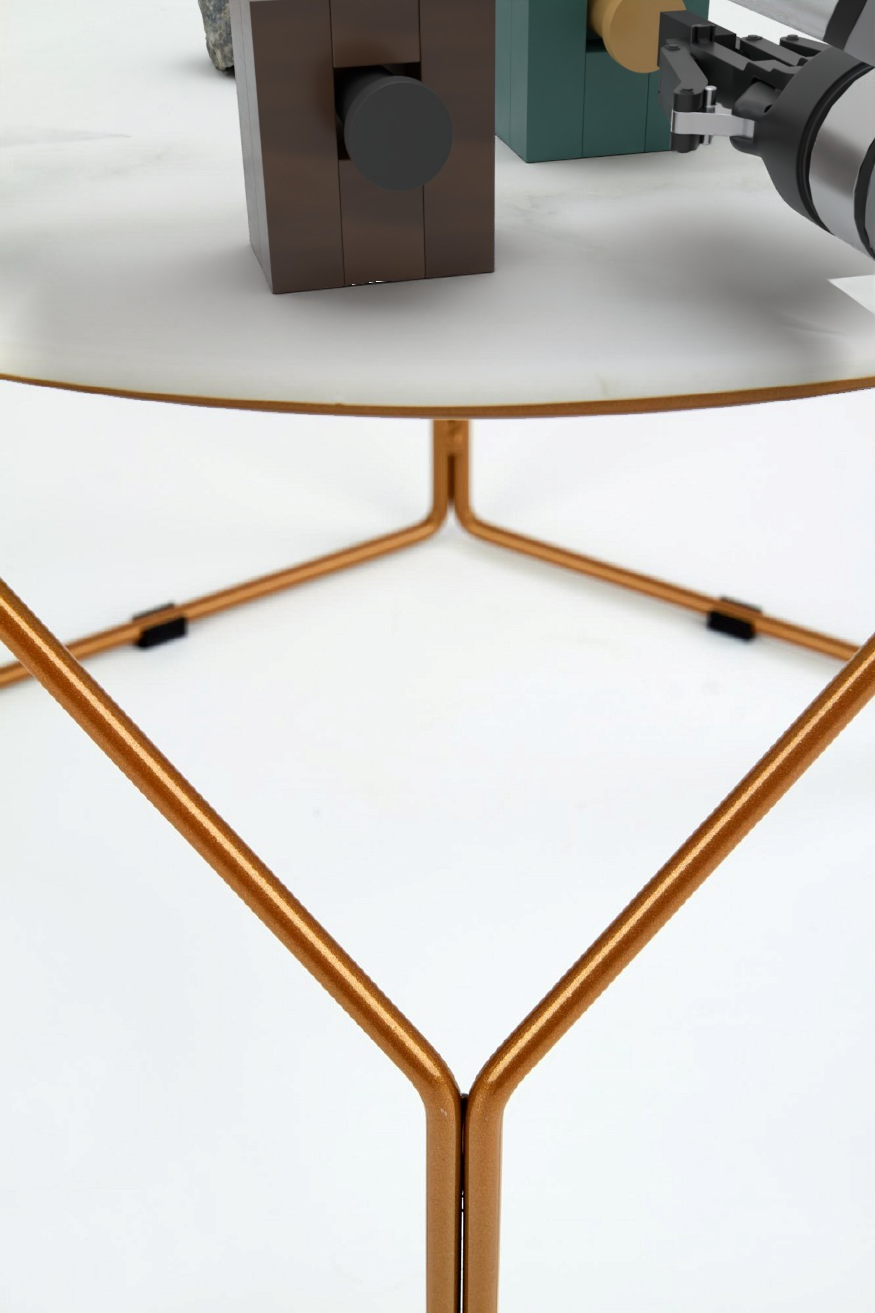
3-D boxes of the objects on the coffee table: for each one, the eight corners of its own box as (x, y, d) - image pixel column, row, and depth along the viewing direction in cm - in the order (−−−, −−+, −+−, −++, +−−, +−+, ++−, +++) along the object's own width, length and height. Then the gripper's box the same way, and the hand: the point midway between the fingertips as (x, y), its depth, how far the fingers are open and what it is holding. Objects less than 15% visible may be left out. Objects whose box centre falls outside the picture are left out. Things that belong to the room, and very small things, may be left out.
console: (490, 129, 96) (490, -96, 89) (652, 116, 98) (665, -105, 91) (526, 162, 90) (529, -78, 82) (698, 147, 92) (716, -88, 84)
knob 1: (322, 153, 71) (316, 50, 68) (416, 145, 72) (414, 43, 69) (351, 196, 65) (346, 85, 63) (454, 186, 66) (453, 77, 64)
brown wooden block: (249, 242, 78) (225, -30, 71) (454, 223, 80) (451, -43, 73) (272, 293, 72) (249, 1, 64) (494, 271, 74) (496, -15, 66)
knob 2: (567, 49, 89) (569, -35, 87) (640, 44, 90) (644, -40, 87) (607, 75, 83) (611, -14, 81) (685, 69, 84) (691, -19, 82)
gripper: (729, 260, 61) (552, 120, 80) (1015, 230, 64) (777, 101, 83) (747, 66, 57) (555, -32, 76) (1052, 42, 59) (793, -47, 79)
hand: (671, 37), depth 79 cm, fingers closed
